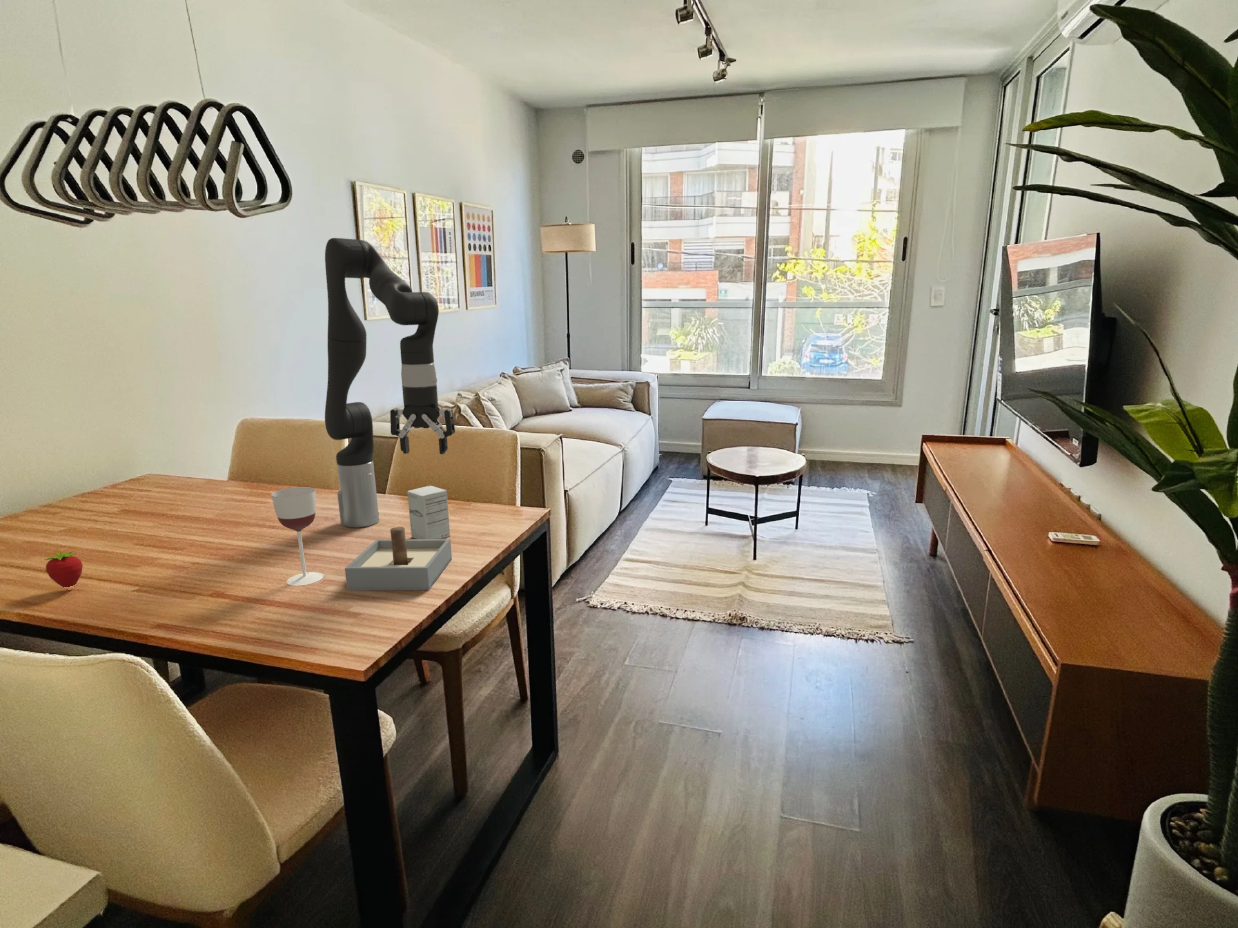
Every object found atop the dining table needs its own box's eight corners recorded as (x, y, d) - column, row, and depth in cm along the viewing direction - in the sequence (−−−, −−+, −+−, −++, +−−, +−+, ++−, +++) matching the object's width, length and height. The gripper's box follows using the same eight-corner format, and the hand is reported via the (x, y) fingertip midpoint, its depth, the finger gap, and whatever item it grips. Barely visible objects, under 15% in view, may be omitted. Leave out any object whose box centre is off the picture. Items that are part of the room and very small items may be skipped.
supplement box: (410, 537, 178) (406, 490, 175) (435, 530, 183) (431, 484, 180) (426, 544, 173) (421, 495, 170) (451, 536, 178) (447, 489, 176)
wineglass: (294, 571, 157) (283, 487, 152) (332, 571, 157) (321, 486, 152) (276, 586, 149) (263, 497, 144) (316, 585, 149) (304, 497, 144)
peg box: (347, 590, 146) (344, 568, 145) (378, 559, 163) (376, 539, 162) (429, 590, 146) (427, 567, 144) (451, 559, 163) (450, 539, 161)
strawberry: (62, 598, 145) (52, 554, 142) (44, 592, 148) (34, 548, 146) (94, 588, 150) (84, 544, 147) (76, 582, 153) (66, 539, 151)
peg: (392, 574, 153) (388, 531, 151) (397, 568, 156) (393, 526, 154) (405, 573, 153) (401, 531, 150) (410, 568, 156) (406, 526, 153)
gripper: (381, 385, 152) (388, 456, 156) (445, 385, 151) (450, 457, 155) (394, 381, 159) (400, 449, 163) (455, 381, 158) (459, 450, 162)
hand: (424, 453), depth 159 cm, fingers open, 8 cm apart
